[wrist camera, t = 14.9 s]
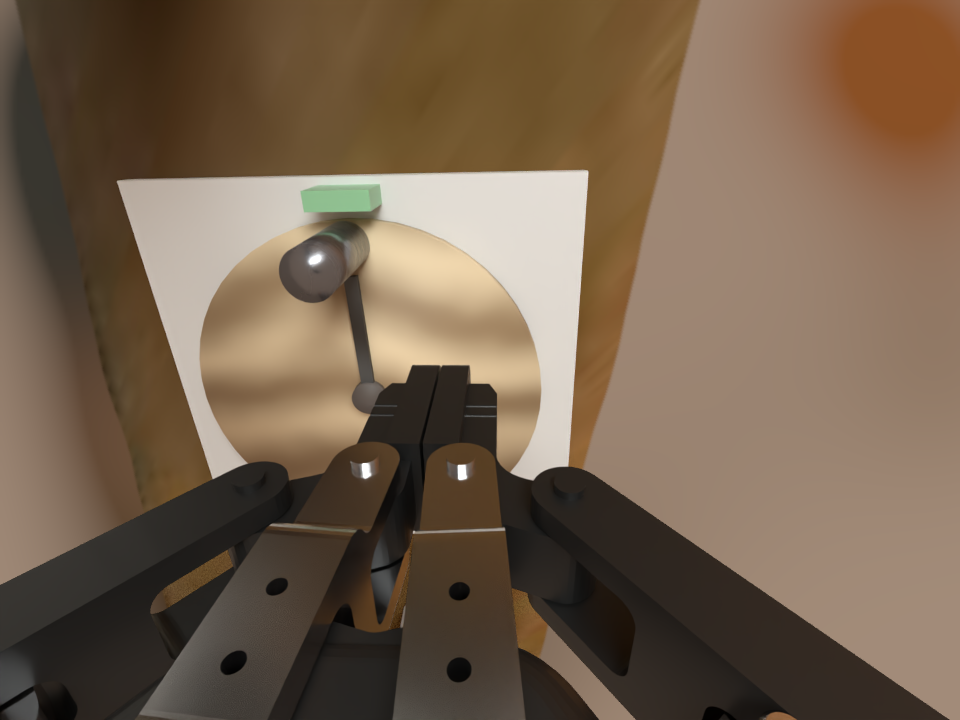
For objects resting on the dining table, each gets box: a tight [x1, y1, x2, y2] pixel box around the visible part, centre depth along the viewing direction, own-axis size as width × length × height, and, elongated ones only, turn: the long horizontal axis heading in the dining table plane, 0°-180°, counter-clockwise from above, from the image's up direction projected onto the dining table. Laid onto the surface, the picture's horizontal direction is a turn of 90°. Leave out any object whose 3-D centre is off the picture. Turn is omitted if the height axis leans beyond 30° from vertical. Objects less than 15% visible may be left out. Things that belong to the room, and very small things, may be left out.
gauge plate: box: [117, 170, 588, 534], centre depth 37 cm, size 30×30×4 cm
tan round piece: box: [199, 218, 541, 480], centre depth 34 cm, size 25×25×8 cm
